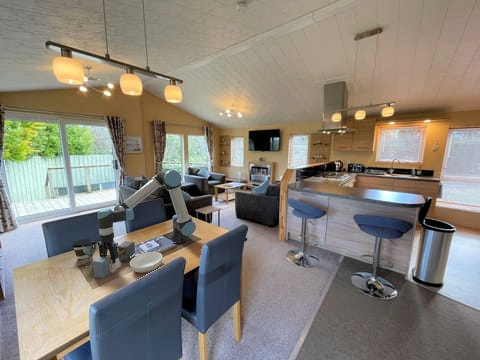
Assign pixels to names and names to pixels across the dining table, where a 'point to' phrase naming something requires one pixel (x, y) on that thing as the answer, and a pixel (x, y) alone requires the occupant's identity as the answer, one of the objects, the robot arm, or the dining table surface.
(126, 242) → the sleeve
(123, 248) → the tube
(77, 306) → the dining table surface
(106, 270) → the socket
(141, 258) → the bowl
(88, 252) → the wine glass
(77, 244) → the coffee cup
